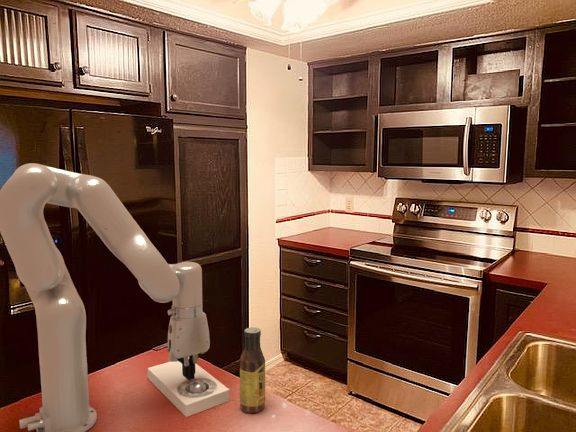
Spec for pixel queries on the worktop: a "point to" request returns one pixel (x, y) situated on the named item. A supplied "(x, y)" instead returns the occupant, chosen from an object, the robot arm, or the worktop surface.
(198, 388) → the ball
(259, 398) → the sauce bottle
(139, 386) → the worktop surface
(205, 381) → the deck
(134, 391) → the worktop surface
